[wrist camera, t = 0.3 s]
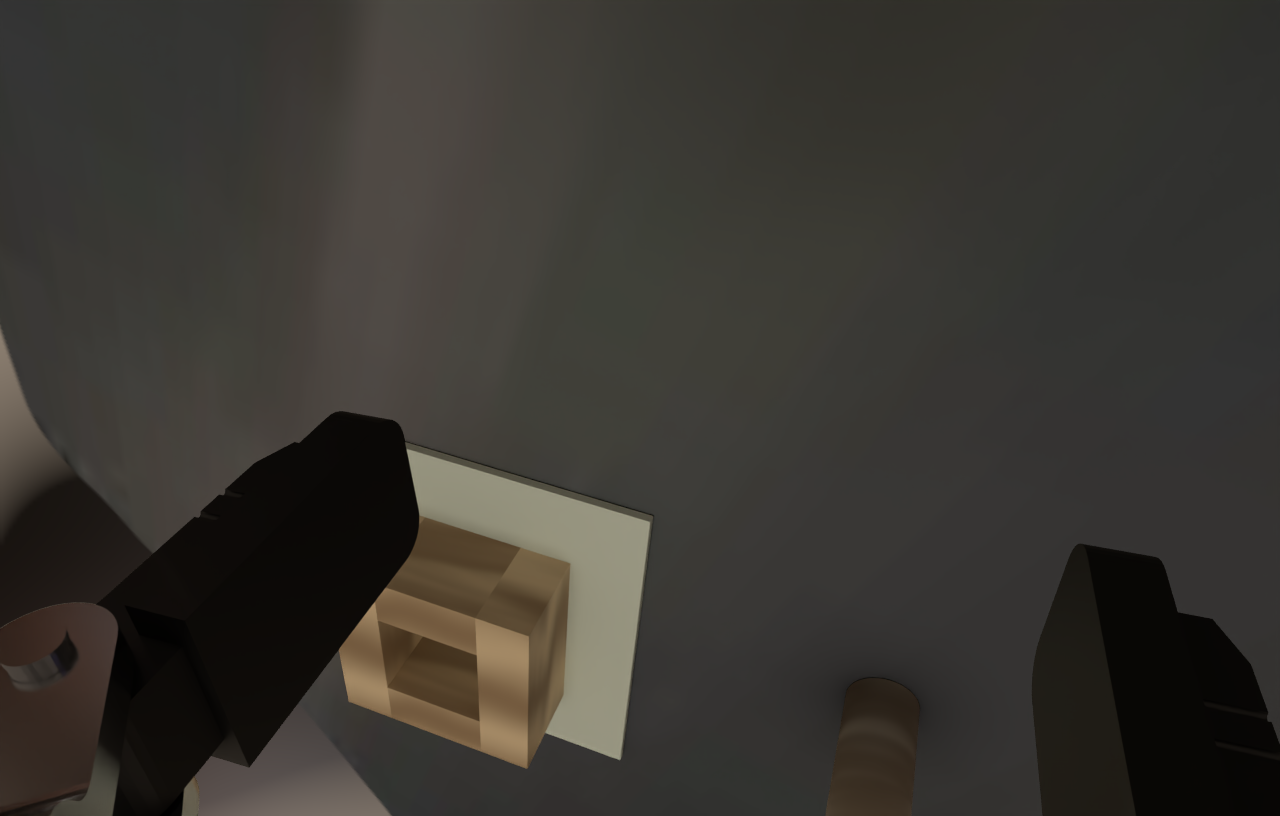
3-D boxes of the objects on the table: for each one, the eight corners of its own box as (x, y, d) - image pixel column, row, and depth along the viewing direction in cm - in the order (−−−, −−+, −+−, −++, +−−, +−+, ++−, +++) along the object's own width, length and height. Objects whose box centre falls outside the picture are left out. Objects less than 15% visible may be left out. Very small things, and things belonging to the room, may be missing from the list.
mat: (347, 425, 40) (342, 429, 39) (653, 516, 36) (650, 522, 36) (383, 666, 50) (379, 672, 50) (622, 753, 47) (620, 760, 47)
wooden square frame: (379, 502, 41) (322, 566, 38) (570, 563, 39) (528, 636, 36) (396, 635, 47) (349, 701, 44) (563, 695, 45) (527, 768, 42)
